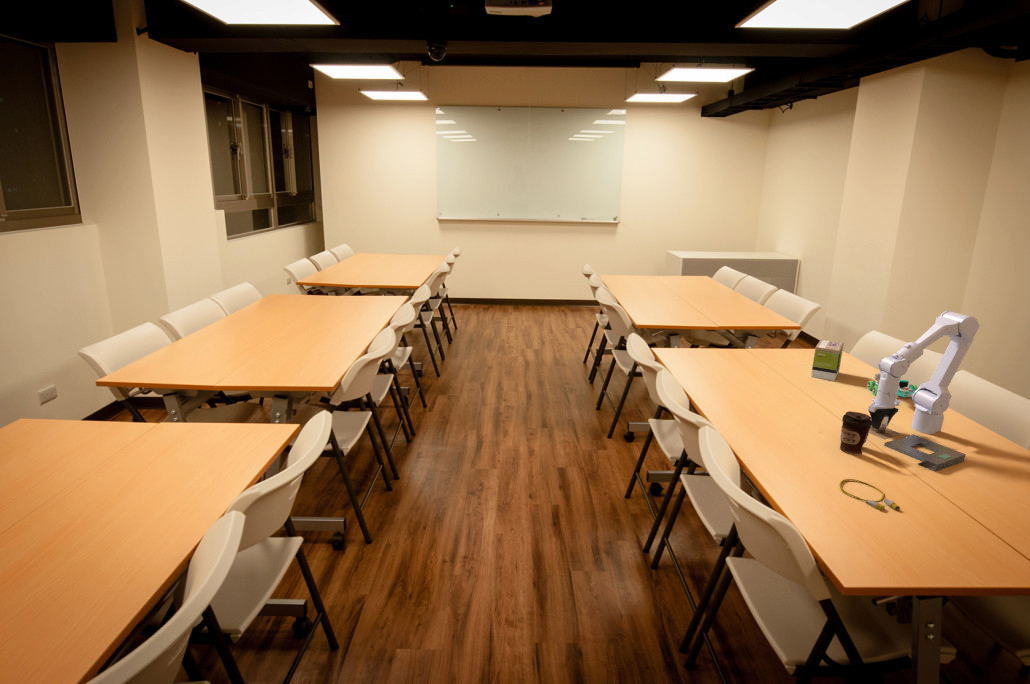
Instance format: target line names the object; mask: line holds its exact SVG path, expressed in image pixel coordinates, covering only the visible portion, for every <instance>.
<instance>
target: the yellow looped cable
mask: <svg viewBox="0 0 1030 684" xmlns="http://www.w3.org/2000/svg"><path fill="white" fill-rule="evenodd" d="M845 482H850V483H851V482H854V483H857V484H858V483H859V484H863V485H866V486H868V487H870V488H872V489H874V490H877V491H878V492H880V493H881V494H882V496H881V498H880V499H879V500H872V499H871V500H870V499H864V498H861V497H860V496H859V497H858V496H856V495H854V494H851V493H850V492H848V491H846V490H844V488H843V487H842V484H843V483H845ZM839 489H840V491H841V492H842V493H843V494H844V495H846V496H848V497H850V498H851V499H852V498H853V499H856V500H859V501H864V502H865V504H866V505H868V506H870V507H872V508H874V509H876V510H879V511H880V512H883V510H885V507H886V506H885V505H884V504H881V503H879V502H882V500H883V502H884V503H885V504H886V505H887V506H888V507H889V508H891V509H892V510H894V511H896V510H897V511H900V509H901V506H899V505H898V504H897V503H896V502H894V501H893V500H891V499H888V498H886V497H885V493H884V492H883V491H882V490H881V489H879V488H877V486H874V485H872V484H870V483H868V482H865V481H862V480H860V479H854V478H845V479H842V480H841V481H840V482H839Z"/></svg>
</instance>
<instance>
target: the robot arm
mask: <svg viewBox="0 0 1030 684" xmlns="http://www.w3.org/2000/svg"><path fill="white" fill-rule="evenodd" d="M934 322H935V323H934V324H933V325H932V326H931V327H929V329H928V330H926V331H925V332H924V333H923V334H921V335H920V337H919V338H918V339H917V340H915V341H909V342H907V343H905V344H903V346H902V347H901V348H899V349H898V350H897V351H896V352H894V353H893V354H891V356H889V355H888V356H886V357H883V358H882V359H881V360H880V362H879V363H878V365H877V366H878V369H879V373H880V381H879V380H878V381H879V385H878V390H877V395H876V396H875V398H872V399H871V402H872V403H871V404H870V405H868V407H867V411H868V413H869V416H870V417H871V421H872V422H873V423H872V428H875V429H879V428H880V426H881V423H882V421H883V419H884V417H885V416H886V415H888V416H889V418H888V422H887V427H888V426H889V425H890V422H891V420H892V419H893V417H894V416H895V415H896V414H897V413H898V412H899V410H900V409H899V408H898V407H899V406H900V403H901V400H899V399H897V397H898V396H897V391H898V387H899V383H900V380H901V377H903V376H904V375H905V374H906V373H907V372H908V369H909V368H910V366H911V364H913V363H914V362H915V361H916V360H917V359H919V358H920V357H921V356H923V355H924V350H925V349H926V348H927V347H929V346H930V345H932V344H933V343H935V342H936V341H938V340H939V339H941V338H943V337H945V336H948V337H949V339H950V341H949V344H948V346H947V347H946V350H945V351H944V353H943V355H942V357H941V359H940V361H939V362H938V364H937V367H936V368H935V369H934V372H933V373H932V375H931V378H930V379H929V381H926V382H922V383H921V384H920V385H919V387H917V388H918V389H917V390H916V391H915V392H914V394H913V396H912V397H911V399H912V402H913V403H914V407H915V409H914V413H913V417H912V422H911V426H910V428H911V429H912V430H914V431H915V432H918V433H922V434H926V435H934V434H936V433H937V432H942V428H943V423H944V421H945V420H944V419H945V415H944V412H946V411H947V410H948V409H949V407H950V400H951V398H952V395H951V392H950V390H949V389H948V388H949V386H950V384H951V382H952V380H953V378H955V377H954V376H955V375H956V372H957V371H958V369H959V367H960V366H961V364H962V362H963V360H964V358H965V356H966V355H967V352H968V351H969V349H970V348H971V346H972V344H973V341H974V339H975V338H974V337H975V336H976V334H977V333H978V330H979V328H980V324H979V322H978V320H977V318H976V317H975V316H971V315H970V316H969V315H966V314H962V313H958V312H956V311H953V310H945V311H943V312H942V313H941V314H940V315H938V316H937V317H936V318H935V321H934Z"/></svg>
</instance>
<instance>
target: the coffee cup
mask: <svg viewBox="0 0 1030 684" xmlns="http://www.w3.org/2000/svg"><path fill="white" fill-rule="evenodd" d="M872 423H873V422H872V421H871V416H870V415H868V414H867V413H863V412H857V411H846V412H845V414H844V415H843V416H842V425H841V430H840V445H839V449H840V450H841V451H842V452H844V453H847V454H850V455H855V456H860V455H862V454H863V451H862V448H863V446H864V444H865V443H867V439H868V437H869V434H870V433H869V429H870V428H871V425H872Z"/></svg>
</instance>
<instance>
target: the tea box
mask: <svg viewBox="0 0 1030 684" xmlns="http://www.w3.org/2000/svg"><path fill="white" fill-rule="evenodd" d="M843 349H844V342H840V341H839V342H837V341H832V340H824V339H820V340H819V341H818V343H817V344H816V346H815V348H814V355H813V361H812V368H811V374H810V377H811V378H816V379H820V380H827V381H832V382H833V381H834V382H835V381H836V379H837V376H838V375H839V373H840V368H841V362H842V355H843Z"/></svg>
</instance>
